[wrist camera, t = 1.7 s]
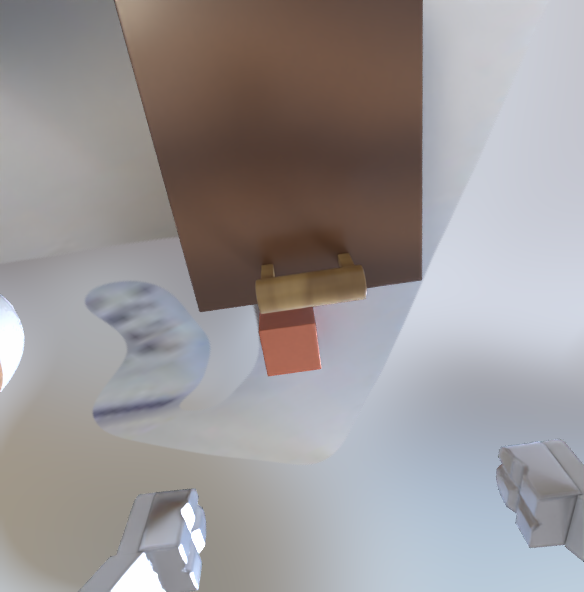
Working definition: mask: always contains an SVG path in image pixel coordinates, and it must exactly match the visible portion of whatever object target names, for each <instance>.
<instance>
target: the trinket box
mask: <svg viewBox="0 0 584 592" xmlns="http://www.w3.org/2000/svg"><path fill="white" fill-rule="evenodd" d="M23 349H24V332H23V327H22V324H21V321H20V319H19V317H18V315H17V313H16V311H15V309H14V307H13V306H12V304H11V303H10V302H9V301H8V300H7V299H6V298H5V297H4V296H3V295H1V294H0V392H1V391H2V390H3V389H4V387H5V386H6V385H7V384H8V382H9V381H10V379H11V378H12V376H13V374H14V373H15V371H16V369H17V367H18V365H19V363H20V360H21V357H22V354H23Z"/></svg>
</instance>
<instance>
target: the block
mask: <svg viewBox="0 0 584 592" xmlns="http://www.w3.org/2000/svg"><path fill="white" fill-rule="evenodd" d="M259 336H260V340H261V345H262V350H263V355H264V360H265V365H266V370H267V374H268V376H274V375H282V374H289V373H296V372H303V371H310V370H317V369H321V361H320V353H319V346H318V338H317V330H316V323H315V318H314V312H313V307H307V308H300V309H293V310H286V311H279V312H272V313H265V314H261V313H260V314H259Z"/></svg>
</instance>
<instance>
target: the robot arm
mask: <svg viewBox="0 0 584 592" xmlns="http://www.w3.org/2000/svg"><path fill="white" fill-rule="evenodd" d="M498 458H499V459H500V461H501V463H502V464H501V465H500V466H499V467H498V468H497V471H496V480H497V485H498V490H499V492H500V495H501V497H502V499H503V501H504V503H505V505H506V507H508V508H509V509H511V510H512V511H514V512H515V513H517V515H516V522H515V523H516V525H517V527H518V528H519V530H520V532H521V534H522V535H523V537H524V539H525V541H526V542H527V544H528V546H529V548H536V547H547V546H557V545H565V547H566V548H567V549H568V550H570V551H571V552H572V553H573V554H575V555H576V556H577V557H578V558H579V559H581V560H582V561H583V562H584V464H583V463H582V462H581V461H580V460H579V458H578V457H577V456H576V455H575V454H574V452H573V451H572V450H571V449H570V448H569V446H568V445H567V444H566V443H565V442H564V441H563V440H561V439H555V440H548V441H540V442H538V441H537V442H530V443H524V444H517V445H510V446H503V447H501V448H500V449H499V454H498ZM198 498H199V496H198V494H197V491H196V489H183V490H174V491H165V492H156V493H148V494H140V495H138V496H137V498H136V499H135V501H134V503H133V506H132V509H131V512H130V515H129V518H128V521H127V524H126V527H125V530H124V533H123V536H122V539H121V542H120V545H119V548H118V551H117V554H116V555H115V556H110V557H109V558H108V559H107V561H106V562H105V563H104V564H103V565H102V566H101V567H100V568H99V569H98V570H97V572H96V573H95V574H94V575H93V576H92V577H91V578H90V579H89V580H88V581H87V582H86V583H85V585H84V586H83V587H82V588H81V589H80V590H79V591H78V592H190V591H195V590H198V587H199V581H200V575H201V568H202V561H201V558H200V556H199V552H200V551H201V550H202V549H203V547H204V546H205V540H206V518H205V513H204V510H203V508H202V507H201V506H199V505H198Z"/></svg>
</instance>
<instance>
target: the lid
mask: <svg viewBox="0 0 584 592" xmlns="http://www.w3.org/2000/svg"><path fill="white" fill-rule="evenodd" d="M114 2H115V6H116V10H117V13H118V17H119V21H120V24H121V28H122V32H123V35H124V39H125V42H126V46H127V50H128V53H129V57H130V61H131V64H132V68H133V72H134V75H135V79H136V82H137V86H138V90H139V93H140V97H141V101H142V104H143V108H144V112H145V115H146V119H147V122H148V126H149V130H150V133H151V137H152V141H153V144H154V148H155V152H156V155H157V159H158V162H159V166H160V170H161V173H162V177H163V181H164V184H165V188H166V192H167V195H168V199H169V202H170V206H171V210H172V213H173V217H174V221H175V224H176V228H177V232H178V235H179V239H180V242H181V246H182V249H183V253H184V257H185V260H186V264H187V268H188V271H189V275H190V278H191V282H192V286H193V290H194V293H195V297H196V301H197V304H198V308H199V311H200V312H205V311H212V310H218V309H225V308H233V307H239V306H246V305H253V304H258V308H259V311H260V313H261V314H265V313H272V312H279V311H286V310H293V309H300V308H307V307H314V306H321V305H328V304H335V303H342V302H349V301H356V300H363V299H366V296H367V288H371V287H378V286H385V285H392V284H399V283H406V282H413V281H420V280H422V62H423V0H114Z"/></svg>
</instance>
